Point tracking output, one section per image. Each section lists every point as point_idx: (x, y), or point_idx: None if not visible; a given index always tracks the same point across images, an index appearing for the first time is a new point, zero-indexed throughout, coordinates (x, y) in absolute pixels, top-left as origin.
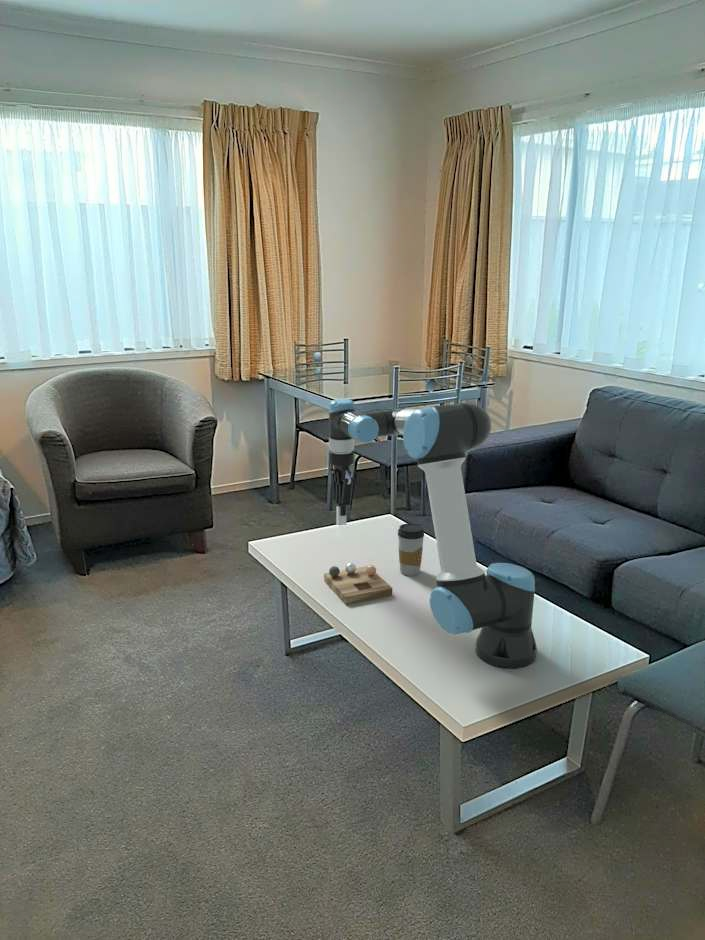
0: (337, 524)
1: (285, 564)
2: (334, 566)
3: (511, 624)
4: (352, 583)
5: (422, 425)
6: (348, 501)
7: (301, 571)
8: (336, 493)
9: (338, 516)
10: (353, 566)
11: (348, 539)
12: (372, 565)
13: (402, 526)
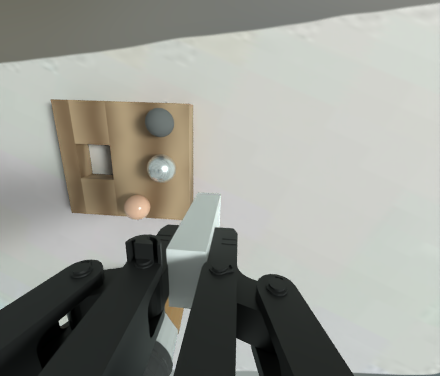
0: (207, 193)
1: (337, 43)
2: (155, 123)
3: None
4: (113, 146)
5: None
6: (47, 336)
7: (271, 71)
8: (202, 348)
9: (187, 211)
10: (148, 174)
11: (384, 256)
12: (132, 215)
13: (147, 371)
